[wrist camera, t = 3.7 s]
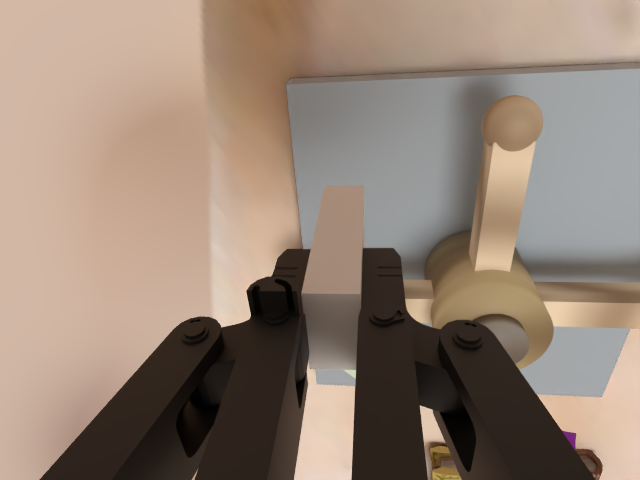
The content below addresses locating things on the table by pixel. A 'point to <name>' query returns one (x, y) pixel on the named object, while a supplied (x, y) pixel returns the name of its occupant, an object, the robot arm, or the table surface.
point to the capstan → (510, 256)
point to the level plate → (463, 175)
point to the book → (448, 476)
